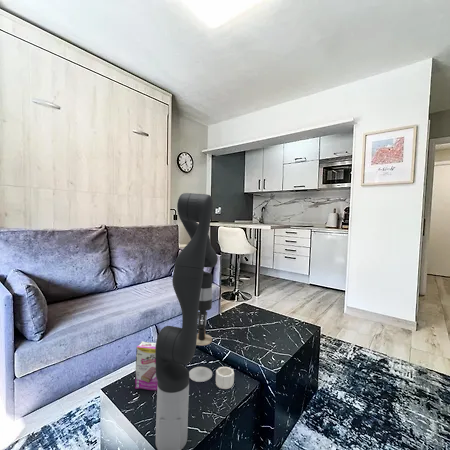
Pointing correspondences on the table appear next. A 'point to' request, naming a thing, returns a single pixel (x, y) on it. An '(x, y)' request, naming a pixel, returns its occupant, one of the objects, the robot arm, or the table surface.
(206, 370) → the white round disc
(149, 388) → the candy bar box
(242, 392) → the table surface
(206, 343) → the lid
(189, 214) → the robot arm
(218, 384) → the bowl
